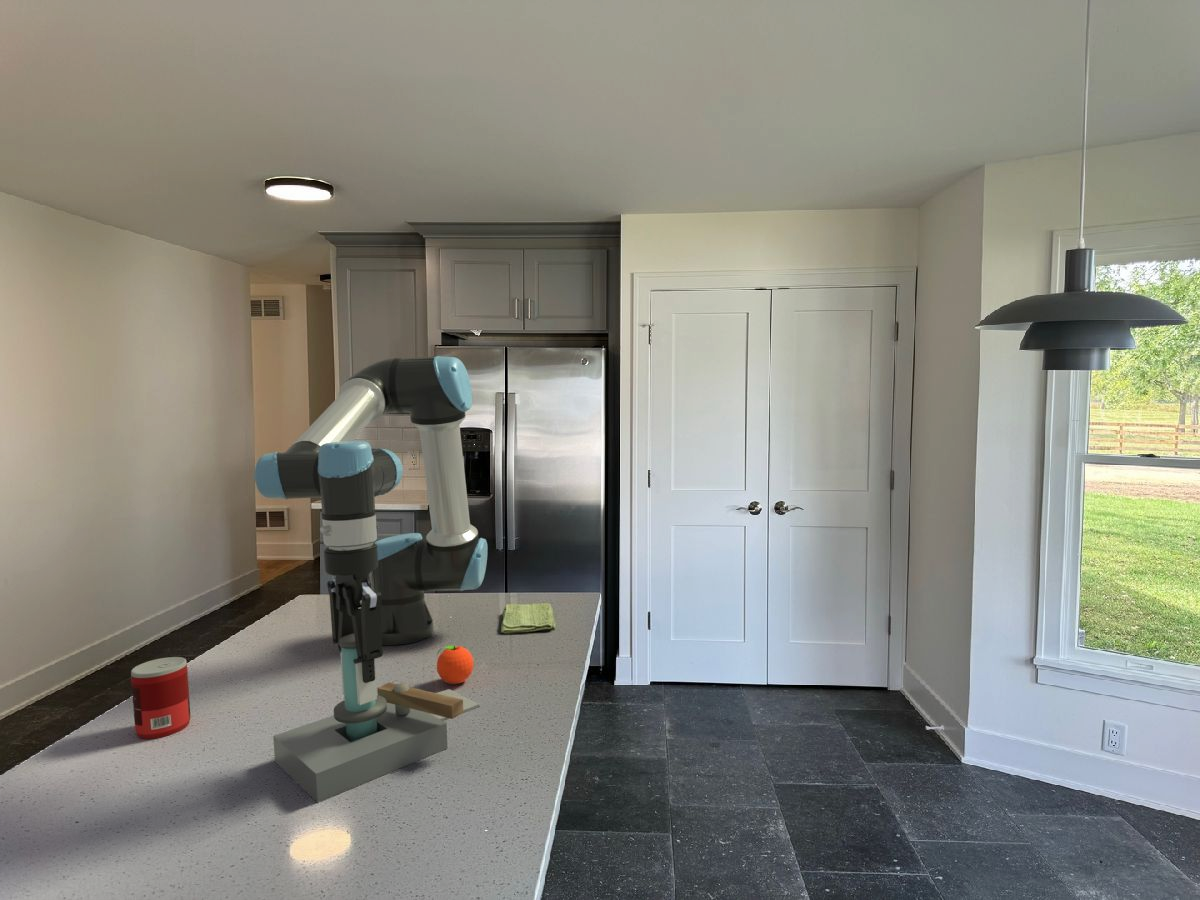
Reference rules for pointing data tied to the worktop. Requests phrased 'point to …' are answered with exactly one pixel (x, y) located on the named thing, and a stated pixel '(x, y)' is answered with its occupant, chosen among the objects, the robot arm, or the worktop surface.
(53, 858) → the worktop surface
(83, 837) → the worktop surface
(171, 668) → the canned food
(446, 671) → the clementine
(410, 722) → the socket block
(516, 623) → the washcloth
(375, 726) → the plug
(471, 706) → the mat
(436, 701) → the brown wooden lever
